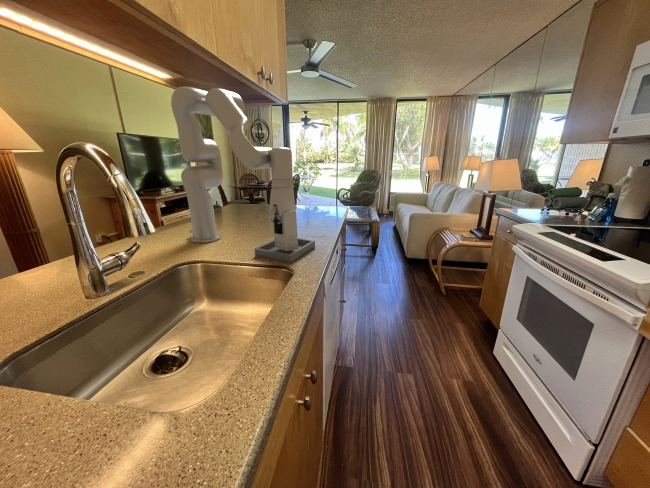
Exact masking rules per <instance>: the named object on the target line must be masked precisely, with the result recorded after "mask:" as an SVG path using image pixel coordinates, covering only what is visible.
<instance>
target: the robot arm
mask: <svg viewBox="0 0 650 488" xmlns="http://www.w3.org/2000/svg"><path fill="white" fill-rule="evenodd" d="M170 105H171V111H172V113H173V117H174V120H175V123H176V128H177V134H178V141H179V145H180V147H179V149H180V153H181V156H182V158H183V159H184V161H186V162H189V163H203V165H191V166H188V167H185V168H184V169H182V171H181V174H180V180H181V182H182V185H183V188H184V191H185V193H186V197H187V199H186V200H187V203H188V208H189V213H190V214H189V215H190V220H191V227H192V228H191V229H190V230H189V233H191V234H192V236H191V237H190V242H192V243H198V244H202V243H203V244H204V243H212V242H215V241H218V240H220V239H221V238H222V235H221V233H219V232H217V223H216V218H215V210H214V203H213V202H214V201H213V198H212V196H211V194H210V193H209V191H208V190H207V189H211V188H212V189H213V188H215V187H219V186H221V184H222V183H223V179H224V172H223V163H222V156H221V155H222V154H221V150H220V147H219V145H218V144H217V143H216V141H215V140H213V139H210V138H204V137H203V132H202V128H201V127H202V126H201V124H200V122H199V119H198V118H197V117H196V116H195V114H197V115H198V114H199V115H205V116H210V117H216V118H217V120H218V121H219V123H220V124H221V125H222V126H223V127H224V128H225V130H226V131H227V133H228V134H229V135H228V139H229V140H228V141H229V144H230V145H229V146H230V148H231V150H232V152H233V154H234V155H235V156H236V157H237V158H238V160H239V161H240V163H241V164H242V165H243V166H245V168H247V169H250V170H254V171H255V170H267V169H270V172H271V173H270V174H271V189H270V198H269V204H270V205H269V214H268V217H269V218H270V219H271V221H272V224H273V223H274V227H273V233H274V232H275V234H282V224H281V220H282V216H283V213H284V212H287V211H290V210H294V211H296V212H297V205H296V200H295V192H294V177H293V175H294V174H293V173H294V172H293V154H292V153H293V152H292V150H291V148H289V147H270V146H269V147H268V146H254V145H253V144H252V143H251V141H250V140H249V139H248V138H247V136H246V134H245V133H246V131H247V130H248V128H249V127H250V121H249V119H248V117H247V116H246V115H245V114H244V112H245V103H244V100H243V98H242V97H241V96H240V95H239V94H238V93H236V92H234V91H230V90H227V89H224V88H218V87H215V88H210V89H209V90H203V89H200V88H196V87H192V86H179V87H177V88H175V89H174V90H173V92H172V95H171V99H170ZM277 214H279V215H277ZM277 217H279V219H277Z"/></svg>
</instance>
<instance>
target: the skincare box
mask: <svg viewBox="0 0 650 488" xmlns="http://www.w3.org/2000/svg"><path fill="white" fill-rule="evenodd" d="M277 215H279V214H277ZM277 219H279V217H277ZM297 220H298V219H297V210H296V211H294V210H290V211H287V212H284V213H283V216H282V220H281V224H282V234H275V232H274V231H273V238H274V239H275V247H277V248H280V249H282V250H284V251H290V250H295V249H298V238H299V237H298V223H297V222H298V221H297ZM272 224H273V225H272V226H273V228H274V223H273V222H272ZM274 239H273V240H274Z"/></svg>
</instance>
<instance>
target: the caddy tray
mask: <svg viewBox="0 0 650 488" xmlns="http://www.w3.org/2000/svg"><path fill="white" fill-rule="evenodd" d="M315 248H316V240H312V239H307V238H306V239H304V238H299V237H298V249H295V250H290V251H284V250H282V249H280V248H277V247H275V239H273V240H270V241H267V242H266V243H264V244H261V245H259V246H257V247H256V248H254V257H256V256H258V257H257V258H261V257H262V258H263V259H266V258H267V259H268V260H271V259H272V260H271V261H277V262H281V263H286V264H290V265H292V264H293V263H294V262H296V261H297V260H299V259H300V258H302V257H303V256H305V255H307V254H308V253H310V252H311V251H313V250H314V249H315Z"/></svg>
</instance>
